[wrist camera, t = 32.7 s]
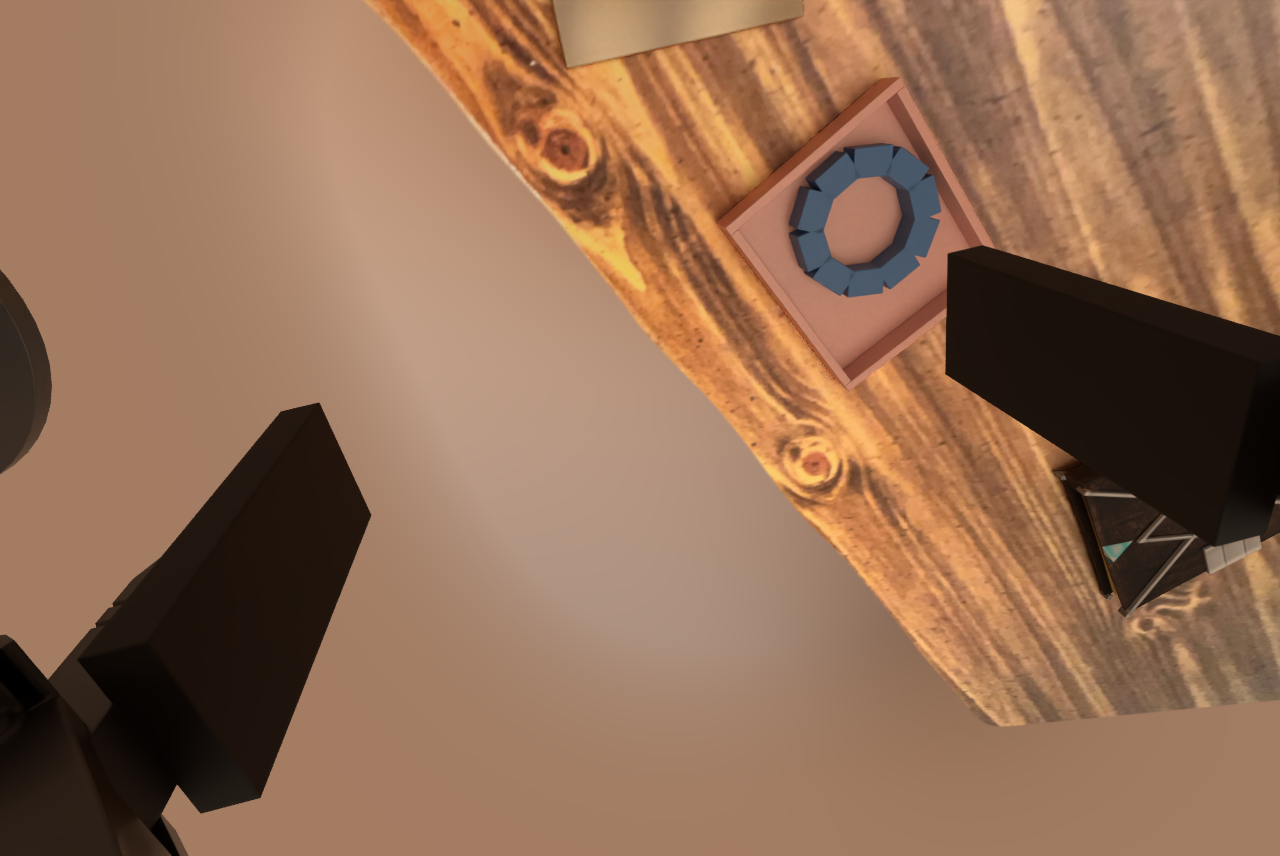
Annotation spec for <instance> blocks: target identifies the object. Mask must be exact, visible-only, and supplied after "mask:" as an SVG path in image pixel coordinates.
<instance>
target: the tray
mask: <svg viewBox="0 0 1280 856" xmlns="http://www.w3.org/2000/svg"><path fill="white" fill-rule="evenodd" d="M876 143H886V144H893V146H900V147H903V148H904V149H906V150H907V151H908V152H910V153H911V154H912V155H914V156H915V157H916V158H917V159H919V160H920V161H921V162H923V163H924V164H925V165H927V166H928V167H929V170H928V171H927V174H932V175H934V177H935V182H936V187H937V192H938V197H939V202H940V206H941V212H940V213H938V214H936V215H933V216H931V218H935V219H938V220H940V223H939V225H938V228H937V231H936V233H935V236H934V238H933V241H932V243H931V246H930V248H929V251H928V254H927V256H926V257H925V258H924V257H919V256H915V255H914V256H915V257H916V259H917V260H918V262H919V263H920V266H919V267H918V268H916V269H915V270H914V271H913V272H911V273H910V274H909V275H908V276H907V277H905V278H904V279H903V280H902V281H901V282H899V283H898V284H897V285H896V286H895V287H893V288H892V289H888V288H886V287H884V286H883V293H881V294H873V295H865V296H857V297H850V298H848V297H846V296H845V295H843V294H842V295H841V296H839V295H837V294H836V293H834V292H833V291H831V290H829V289H828V288H826V287H825V286H823V285H821V284H820V283H818V282H817V281H815V280H814V279H812V278H810V277H809V276H807V275H806V274H804V271H805V270H804V269H802V268H800V267H799V265H798V262H797V259H796V256H795V253H794V249H793V246H792V243H791V240H790V237H789V233H790V232H792V231H794V230H796V228H794V227H792V226H790V225H789V221H790V218H791V214H792V211H793V208H794V204H795V201H796V198H797V194H798V191H799V188H800V186H802V187H807V188H811V187H810V185H809V184H808V182H807V181H806V179H805V178H806V177H807V176H808V175H809V174H810V173H811V172H813V171H814V170H815V169H816V168H817V167H818V166H819V165H820V164H822V163H823V162H824V161H825V160H826V159H827V158H828V157H829V156H830V155H832V154H833V153H834V152H835V151H839V152H843V151H844V147H848V146H857V145H867V144H876ZM811 189H812V188H811ZM901 218H902V212H901V208H900V204H899V199H898V195H897V191H896V188H895V187H893V186H892V185H891V184H889V183H888V182H886V181H885V180H884V179H882V178H881V177H880V176H878V177H869V178H860V179H857V180H856V181H855V182H854V183H852V184H851V185H850V186H849V187H848V188H847V189H846V190H844V191H843V192H842V193H841V194H840V195H839V196H838V197H837V198H835V199H834V200H833V204H832V207H831V210H830V213H829V216H828V219H827V222H826V225H825V228H824V233H825V236H826V240H827V243H828V246H829V250H830V253H831V257H833V258H834V259H836V260H837V261H839V262H840V263H842V264H843V265H853V264H861V263H869V262H871V261H872V260H873V259H874V258H875V257H877V256H878V255H879V254H880V253H881V252H883V251H884V250H885V249H886V248H887V247H888V246H890V245H891V244H892V242H893V239H894V237H895V234H896V231H897V229H898V226H899V223H900V220H901ZM717 224H718V225H719V227H720V228H721V229H722V231H723V232H724V233H725V234H726V236H727V237H728V238H729V240H730V241H731V242H732V244H733V245H734V246H735V248H736V249H737V250H738V252H739V253H740V254H741V256H742V257H743V258H744V260H745V261H746V262H747V264H748V265H749V266H750V267H751V269H752V270H753V271H754V273H755V274H756V275H757V277H758V278H759V279H760V281H761V282H762V283H763V285H764V286H765V287H766V289H767V290H768V291H769V293H770V294H771V295H772V297H773V298H774V299H775V300H776V302H777V303H778V304H779V306H780V307H781V308H782V310H783V311H784V312H785V314H786V315H787V316H788V318H789V319H790V320H791V322H792V323H793V324H794V326H795V327H796V328H797V330H798V331H799V332H800V333H801V335H802V336H803V337H804V339H805V340H806V341H807V343H808V344H809V345H810V347H811V348H812V349H813V351H814V352H815V353H816V355H817V356H818V357H819V359H820V360H821V361H822V363H823V364H824V365H825V366H826V368H827V369H828V370H829V372H830V373H831V374H832V376H833V377H834V378H835V380H836V381H838V382H839V383H840V384H841V385H842V386H843V387H844V388H845V389H846V390H847V391H850V390H852V389H853V388H854V387H856V386H857V385H858V384H859V383H861V382H862V381H863V380H865V379H866V378H867V377H868V376H870V375H871V374H872V373H874V372H875V371H876V370H878V369H879V368H880V367H881V366H883V365H884V364H885V363H887V362H888V361H889V360H891V359H892V358H893V357H894V356H896V355H897V354H898V353H900V352H901V351H902V350H904V349H905V348H906V347H907V346H909V345H910V344H911V343H913V342H914V341H915V340H917V339H918V338H919V337H920V336H922V335H923V334H924V333H926V332H927V331H928V330H930V329H931V328H932V327H933V326H935V325H936V324H937V323H939V322H940V321H941V320H943V319H944V318H945V317H946V312H947V253H951V252H955V251H960V250H964V249H968V248H972V247H976V246H981V245H984V246H987V247H990V248H994V246H993V244H992V242H991V240H990V239H989V237H988V235H987V233H986V231H985V229H984V228H983V226H982V224H981V222H980V220H979V219H978V217H977V215H976V213H975V211H974V210H973V208H972V206H971V204H970V202H969V201H968V199H967V197H966V195H965V193H964V191H963V190H962V188H961V186H960V184H959V182H958V181H957V179H956V177H955V175H954V173H953V172H952V170H951V168H950V166H949V164H948V163H947V161H946V159H945V157H944V155H943V153H942V152H941V150H940V148H939V146H938V144H937V143H936V141H935V139H934V137H933V135H932V134H931V132H930V130H929V128H928V126H927V125H926V123H925V121H924V119H923V117H922V115H921V114H920V112H919V110H918V108H917V106H916V105H915V103H914V101H913V99H912V97H911V96H910V94H909V92H908V90H907V88H906V86H905V85H904V83H903V81H902V79H901V77H895V78H885V79H881V80H879V81H878V82H877V83H876V84H875V85H874V86H873V87H871V88H870V89H869V90H868V91H867V92H866V93H864V94H863V95H862V96H861V97H860V98H859V99H858V100H856V101H855V102H854V103H853V104H852V105H851V106H850V107H848V108H847V109H846V110H845V111H844V112H843V113H841V114H840V115H839V116H838V117H837V118H836V119H835V120H833V121H832V122H831V123H830V124H829V125H828V126H827V127H825V128H824V129H823V130H822V131H821V132H820V133H818V134H817V135H816V136H815V137H814V138H813V139H812V140H810V141H809V142H808V143H807V144H806V145H805V146H804V147H802V148H801V149H800V150H799V151H798V152H797V153H795V154H794V155H793V156H792V157H791V158H790V159H789V160H787V161H786V162H785V163H784V164H783V165H782V166H781V167H779V168H778V169H777V170H776V171H775V172H774V173H773V174H771V175H770V176H769V177H768V178H767V179H766V180H764V181H763V182H762V183H761V184H760V185H759V186H758V187H756V188H755V189H754V190H753V191H752V192H751V193H750V194H748V195H747V196H746V197H745V198H744V199H743V200H741V201H740V202H739V203H738V204H737V205H736V206H735V207H733V208H732V209H731V210H730V211H729V212H728V213H727V214H725V215H724V216H723V217H722V218H721V219H720V220H718V221H717ZM994 249H995V248H994Z"/></svg>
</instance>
